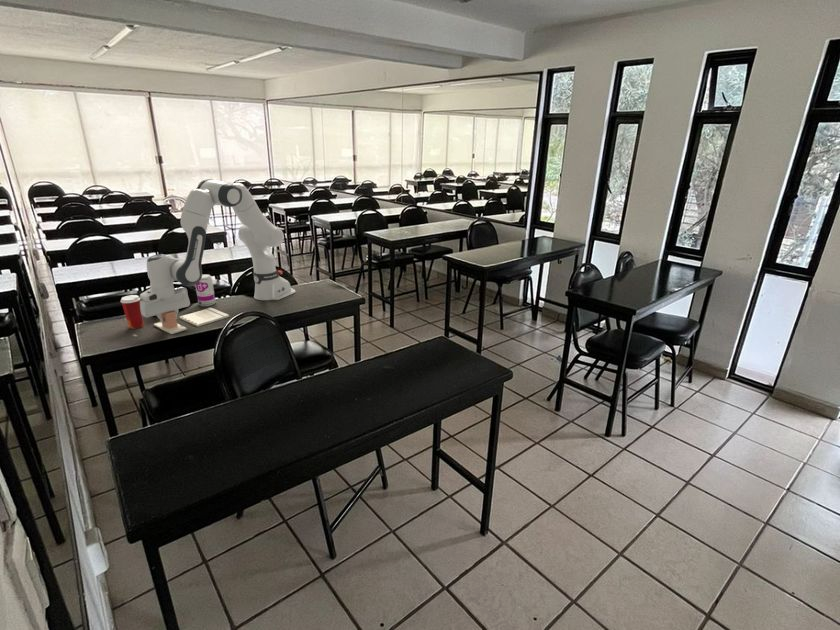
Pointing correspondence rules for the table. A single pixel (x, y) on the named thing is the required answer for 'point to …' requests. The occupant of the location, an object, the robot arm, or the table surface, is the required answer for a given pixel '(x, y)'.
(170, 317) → the stub
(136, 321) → the paper cup
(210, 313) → the white flat square board
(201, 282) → the supplement can
